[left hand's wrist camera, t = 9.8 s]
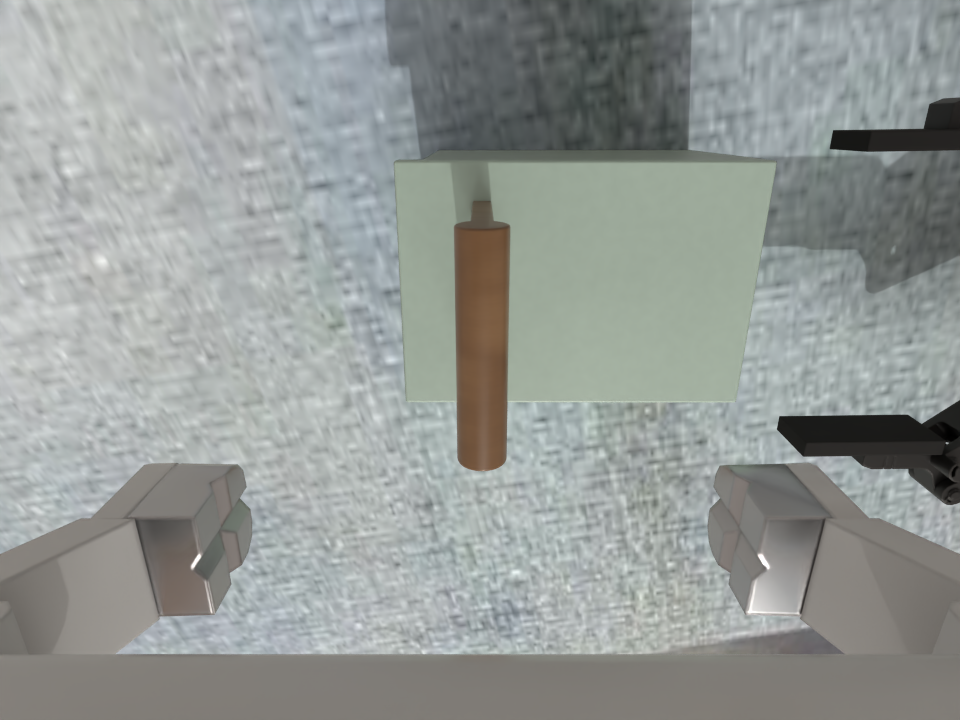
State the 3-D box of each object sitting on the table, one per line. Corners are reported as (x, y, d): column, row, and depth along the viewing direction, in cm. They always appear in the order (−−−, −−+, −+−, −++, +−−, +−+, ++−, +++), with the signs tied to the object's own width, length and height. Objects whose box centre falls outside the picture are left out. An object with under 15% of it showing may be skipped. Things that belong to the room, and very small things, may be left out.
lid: (408, 394, 26) (376, 507, 18) (396, 159, 22) (351, 177, 15) (728, 394, 26) (832, 508, 18) (768, 159, 22) (917, 177, 15)
